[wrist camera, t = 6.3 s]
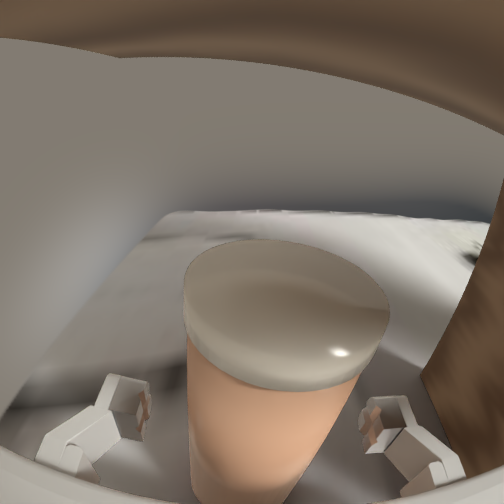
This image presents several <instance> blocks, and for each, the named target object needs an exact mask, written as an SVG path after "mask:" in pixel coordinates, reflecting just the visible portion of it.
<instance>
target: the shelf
mask: <svg viewBox="0 0 504 504" xmlns="http://www.w3.org/2000/svg"><path fill="white" fill-rule="evenodd" d="M0 38H9V39H19V40H27V41H35V42H42V43H48V44H54V45H60V46H66V47H71V48H77V49H82V50H87V51H91V52H96V53H100V54H104V55H109V56H113V57H118V58H133V57H192V58H211V59H225V60H236V61H246V62H255V63H263V64H271V65H278V66H284V67H290V68H297V69H302V70H308V71H313V72H318V73H323V74H328V75H332V76H337V77H341V78H345V79H350V80H354V81H358V82H361V83H365V84H369V85H373V86H376V87H380V88H383V89H387V90H390V91H393V92H397V93H400V94H403V95H406V96H409V97H412V98H415V99H418V100H421V101H424V102H427V103H429V104H432V105H435V106H438V107H440V108H443V109H445V110H449V111H451V112H453V113H455V114H458V115H460V116H463V117H465V118H468V119H470V120H472V121H474V122H477V123H479V124H481V125H483V126H485V127H488V128H490V129H492V130H494V131H496V132H498V133H500V134H502V135H504V0H0ZM420 377H421V379H422V381H423V383H424V385H425V387H426V389H427V392H428V394H429V396H430V398H431V400H432V403H433V405H434V407H435V409H436V412H437V414H438V416H439V419H440V421H441V423H442V426H443V428H444V430H445V433H446V435H447V438H448V440H449V443H450V445H451V448H452V450H453V452H454V453H456V454H457V455H458V457H459V459H460V462H461V464H462V467H463V470H464V472H465V475H466V478H467V479H468V478H471V477H474V476H477V475H479V474H482V473H485V472H487V471H490V470H492V469H495V468H497V467H500V466H502V465H504V180H503V184H502V187H501V191H500V195H499V198H498V202H497V205H496V208H495V212H494V215H493V218H492V221H491V224H490V227H489V230H488V233H487V236H486V239H485V241H484V244H483V247H482V250H481V252H480V255H479V257H478V260H477V262H476V265H475V267H474V270H473V272H472V275H471V277H470V279H469V282H468V284H467V286H466V289H465V291H464V293H463V295H462V298H461V300H460V302H459V304H458V306H457V308H456V310H455V312H454V314H453V316H452V318H451V320H450V322H449V324H448V326H447V328H446V330H445V332H444V334H443V336H442V338H441V340H440V341H439V343H438V345H437V347H436V349H435V351H434V352H433V354H432V356H431V358H430V359H429V361H428V363H427V364H426V366H425V368H424V369H423V371H422V373H421V374H420Z"/></svg>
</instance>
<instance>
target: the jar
mask: <svg viewBox="0 0 504 504" xmlns="http://www.w3.org/2000/svg"><path fill="white" fill-rule="evenodd" d="M183 316H184V325H185V328H186V331H187V396H188V431H189V454H190V472H191V484H192V489H193V492H194V494H195V496H196V498H197V499H198V501H199V502H200V503H201V504H283V502H284V501H285V499H286V498H287V497H288V495H289V494H290V492H291V491H292V490H293V488H294V487H295V485H296V484H297V482H298V481H299V479H300V478H301V476H302V475H303V473H304V472H305V470H306V469H307V467H308V466H309V464H310V463H311V461H312V459H313V458H314V456H315V455H316V453H317V451H318V450H319V448H320V447H321V445H322V443H323V442H324V440H325V438H326V437H327V435H328V433H329V432H330V430H331V428H332V426H333V425H334V423H335V421H336V419H337V418H338V416H339V414H340V412H341V410H342V408H343V407H344V405H345V403H346V401H347V399H348V397H349V395H350V394H351V392H352V390H353V388H354V386H355V384H356V382H357V380H358V378H359V376H360V374H361V372H362V371H363V370H364V369H365V368H366V367H367V366H368V364H369V363H370V361H371V360H372V358H373V356H374V354H375V352H376V349H377V347H378V345H379V343H380V341H381V339H382V336H383V334H384V332H385V330H386V327H387V325H388V322H389V317H390V309H389V304H388V301H387V298H386V296H385V294H384V292H383V291H382V289H381V288H380V287H379V285H378V284H377V283H376V282H375V281H374V280H373V279H372V278H371V277H370V276H369V275H368V274H367V273H365V272H364V271H363V270H361V269H360V268H359V267H357V266H355V265H354V264H352V263H350V262H349V261H347V260H345V259H343V258H341V257H339V256H337V255H334V254H332V253H329V252H327V251H324V250H321V249H318V248H315V247H311V246H307V245H303V244H299V243H293V242H287V241H280V240H264V239H256V240H242V241H235V242H229V243H225V244H222V245H219V246H216V247H213V248H211V249H209V250H207V251H205V252H203V253H202V254H200V255H199V256H197V257H196V258H195V259H194V260H193V261H192V262H191V264H190V265H189V267H188V269H187V271H186V273H185V278H184V311H183Z"/></svg>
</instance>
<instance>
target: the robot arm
mask: <svg viewBox="0 0 504 504" xmlns="http://www.w3.org/2000/svg"><path fill="white" fill-rule="evenodd" d="M149 389H150V385H149V382H148V381H143V380H138V379H134V378H129V377H125V376H121V375H116V374H112V373H109V374H108V375H107V376H106V378H105V381H104V383H103V385H102V388H101V390H100V392H99V395H98V397H97V400H96V402H95V404H94V406H91V405H90V406H88V407H87V408H85V409H84V410H82V411H81V412H79V413H78V414H76V415H75V416H73V417H72V418H70V419H68V420H67V421H65V422H64V423H62V424H61V425H59V426H58V427H56V428H54V429H53V430H51V431H50V432H48V433H47V434H45V436H44V438H43V441H42V443H41V445H40V448H39V450H38V452H37V454H36V457H35V459H34V461H32V460H30V459H27V458H25V457H23V456H21V455H19V454H17V453H14V452H12V451H10V450H8V449H6V448H4V447H2V446H0V504H180V503H174V502H168V501H162V500H157V499H152V498H147V497H143V496H138V495H134V494H130V493H126V492H122V491H118V490H114V489H110V488H107V487H103V486H100V485H99V482H100V477H99V476H98V474H97V473H96V471H95V470H94V468H93V466H92V464H93V463H95V462H96V461H97V460H98V459H99V458H100V457H101V456H102V455H104V454H105V453H106V452H107V451H108V450H109V449H110V448H111V447H113V446H114V445H115V444H116V443H117V442H118V441H119V440H120V439H121V438H126V439H131V440H136V441H141V442H143V440H144V436H145V432H146V429H147V427H146V422H145V421H146V420H147V419H149V417H150V413H151V406H152V397H151V394H150V393H149ZM366 405H367V407H365V408H364V409H362V410H361V412H360V414H359V418H358V428H359V431H360V432H361V433H362V434H363V435H364V437H363V439H362V444H363V448H364V452H365V454H370V453H382V452H384V454H385V456H386V457H387V458H388V459H389V460H390V461H391V462H392V463H393V465H394V466H395V467H396V468H397V469H398V470H399V471H400V472H401V473H402V475H403V476H404V477H405V478H406V479H407V480H408V481H409V483H408V484H407V485H405V486H404V487H403V488H402V489H401V490H400V494H401V498H396V499H391V500H386V501H380V502H374V503H368V504H504V465H502V466H500V467H497V468H495V469H492V470H490V471H487V472H485V473H482V474H479V475H477V476H474V477H471V478H468V479H467V478H466V475H465V472H464V470H463V467H462V464H461V462H460V459H459V457H458V455H457V454H456V453H454V452H453V451H452V450H451V449H449V448H448V447H447V446H446V445H444V444H443V443H442V442H441V441H439V440H438V439H437V438H436V437H435V436H433V435H432V434H431V433H430V432H428V431H427V430H426V429H425V428H423V427H422V426H418V424H417V421H416V419H415V416H414V414H413V411H412V409H411V406H410V404H409V401H408V399H407V397H406V396H405V395H398V396H379V397H370V398H369V399H368V400H367V402H366Z"/></svg>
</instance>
